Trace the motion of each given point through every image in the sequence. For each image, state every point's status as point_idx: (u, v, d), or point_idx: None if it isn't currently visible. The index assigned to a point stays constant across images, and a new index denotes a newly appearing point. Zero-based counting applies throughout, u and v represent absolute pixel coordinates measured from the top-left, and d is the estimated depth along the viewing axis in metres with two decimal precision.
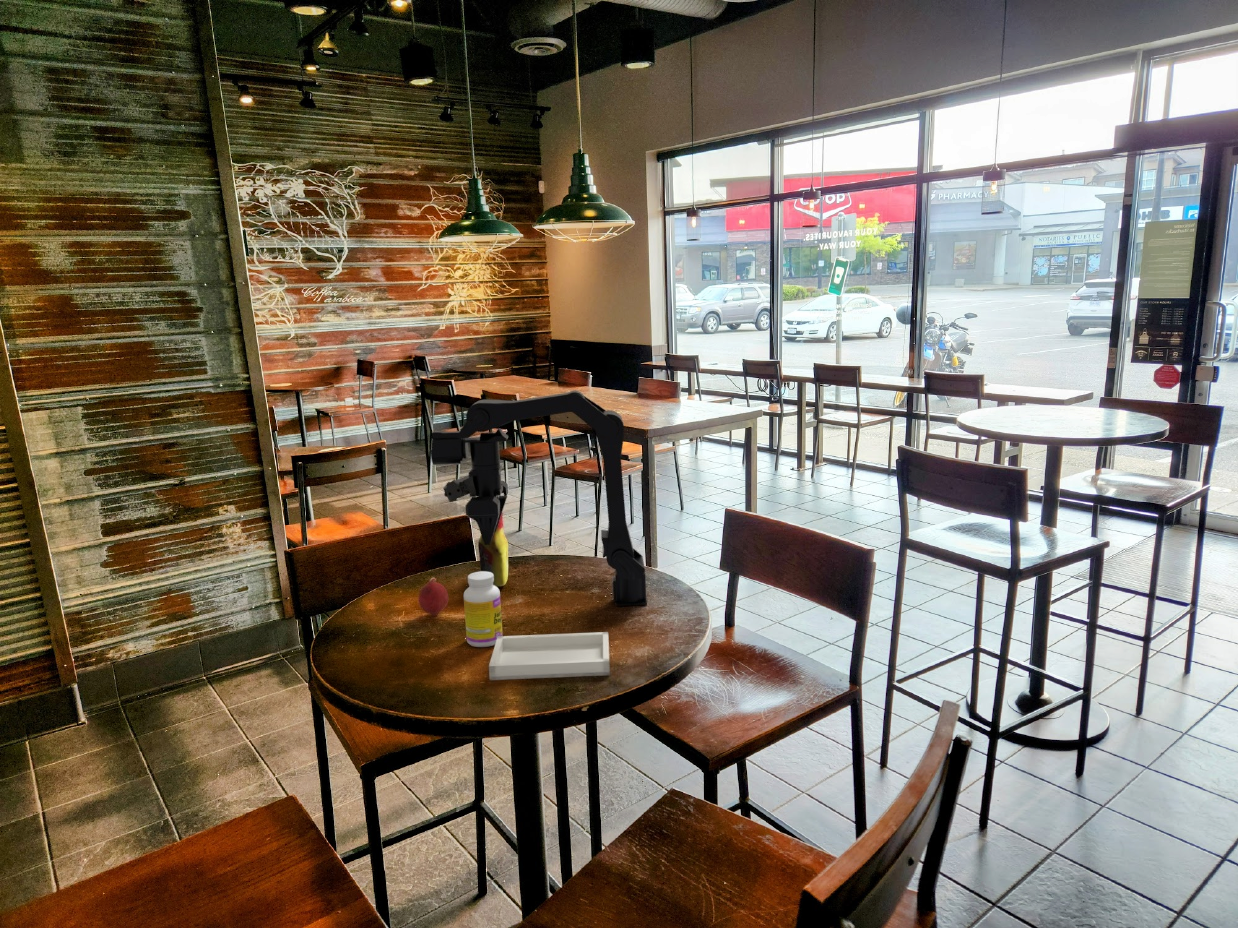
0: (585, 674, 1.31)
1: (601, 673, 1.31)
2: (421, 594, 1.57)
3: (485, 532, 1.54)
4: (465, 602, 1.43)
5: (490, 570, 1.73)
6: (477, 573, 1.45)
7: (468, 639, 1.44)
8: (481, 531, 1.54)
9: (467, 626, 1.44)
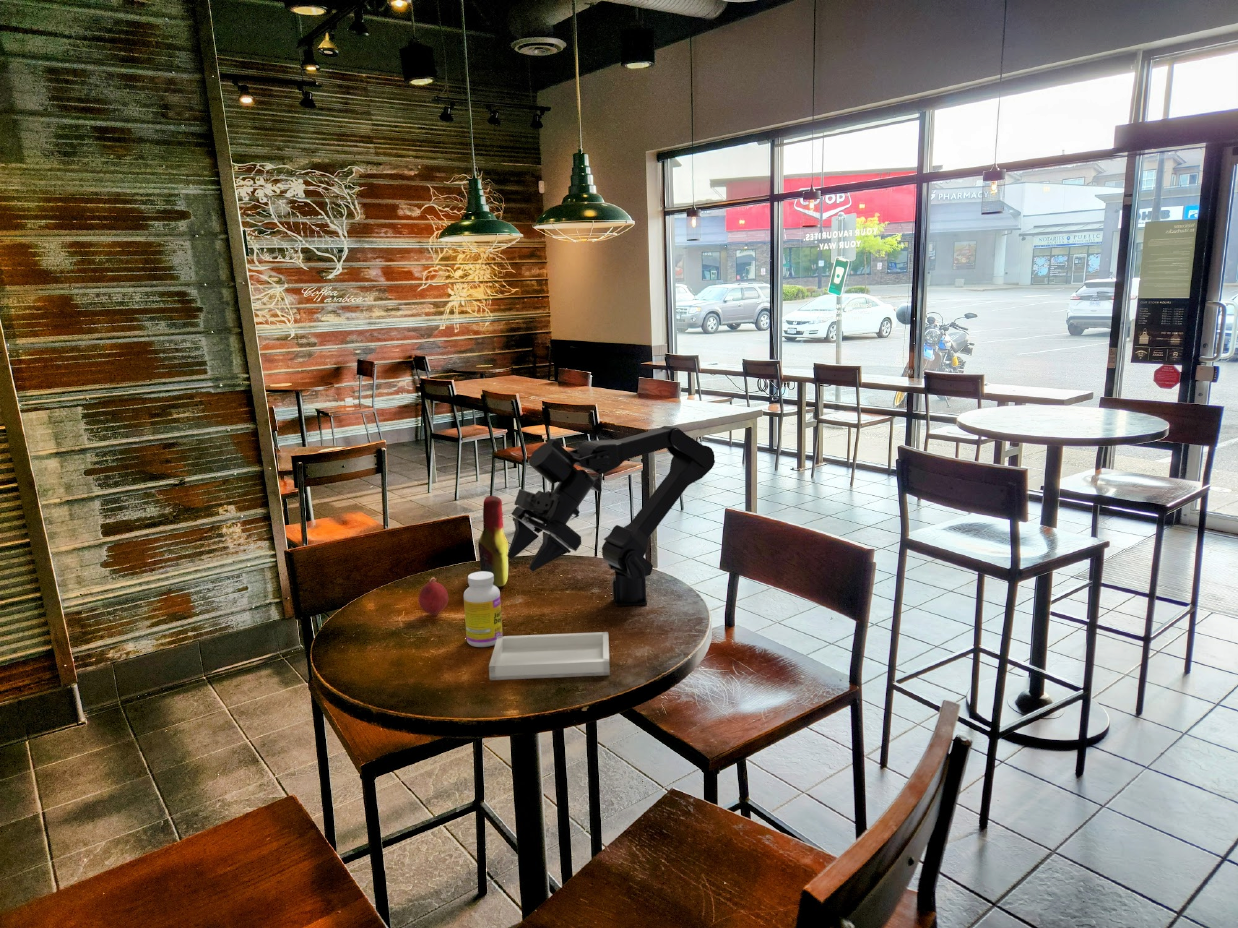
0: (585, 674, 1.31)
1: (601, 673, 1.31)
2: (421, 594, 1.57)
3: (542, 558, 1.44)
4: (465, 602, 1.43)
5: (490, 570, 1.73)
6: (477, 573, 1.45)
7: (468, 639, 1.44)
8: (540, 555, 1.44)
9: (467, 626, 1.44)
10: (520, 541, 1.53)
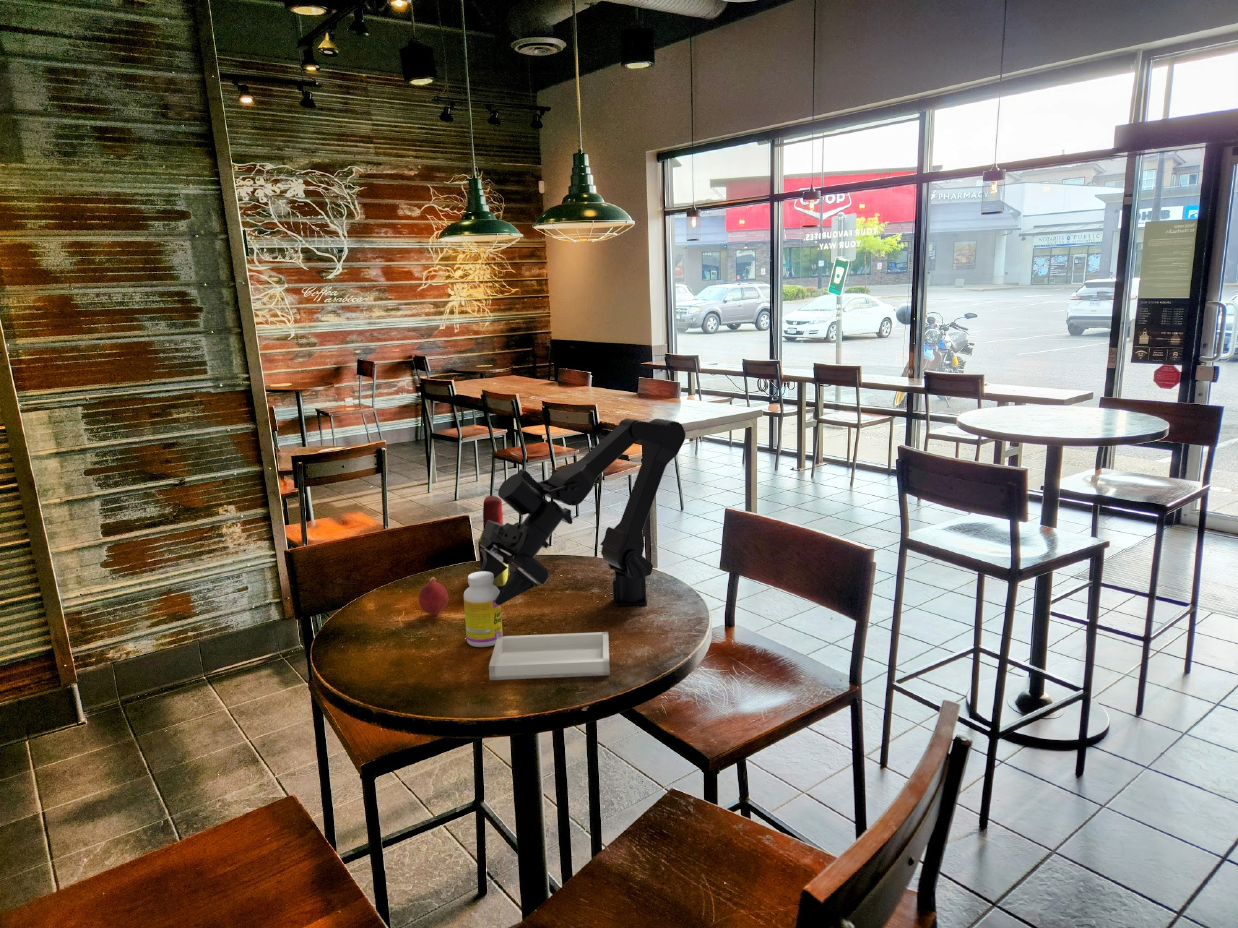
0: (585, 674, 1.31)
1: (601, 673, 1.31)
2: (421, 594, 1.57)
3: (508, 592, 1.41)
4: (465, 602, 1.43)
5: None
6: (477, 573, 1.45)
7: (468, 639, 1.44)
8: (506, 589, 1.41)
9: (467, 626, 1.44)
10: None
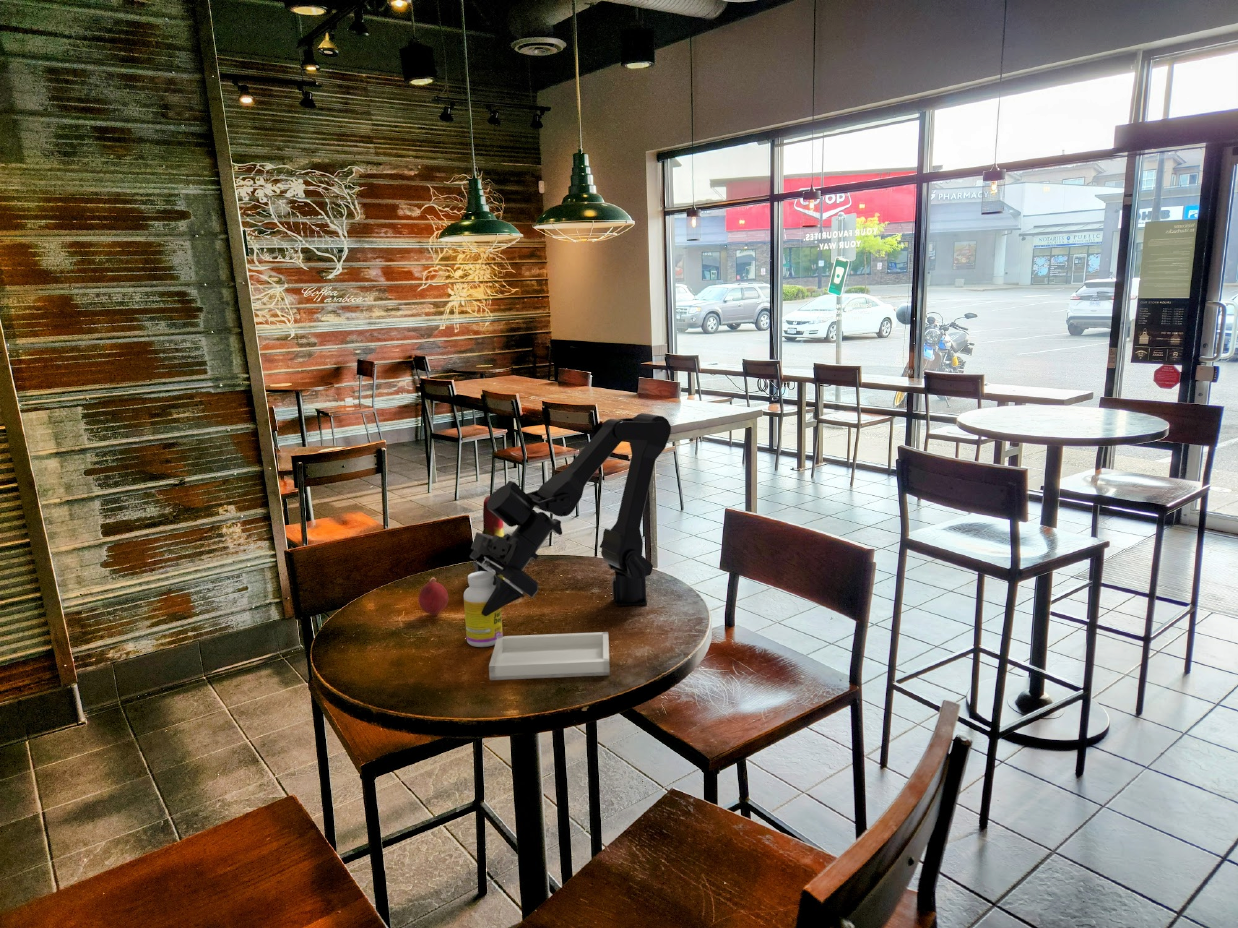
0: (585, 674, 1.31)
1: (601, 673, 1.31)
2: (421, 594, 1.57)
3: (495, 603, 1.41)
4: (465, 602, 1.43)
5: None
6: (477, 573, 1.45)
7: (468, 639, 1.44)
8: (493, 600, 1.41)
9: (467, 626, 1.44)
10: None
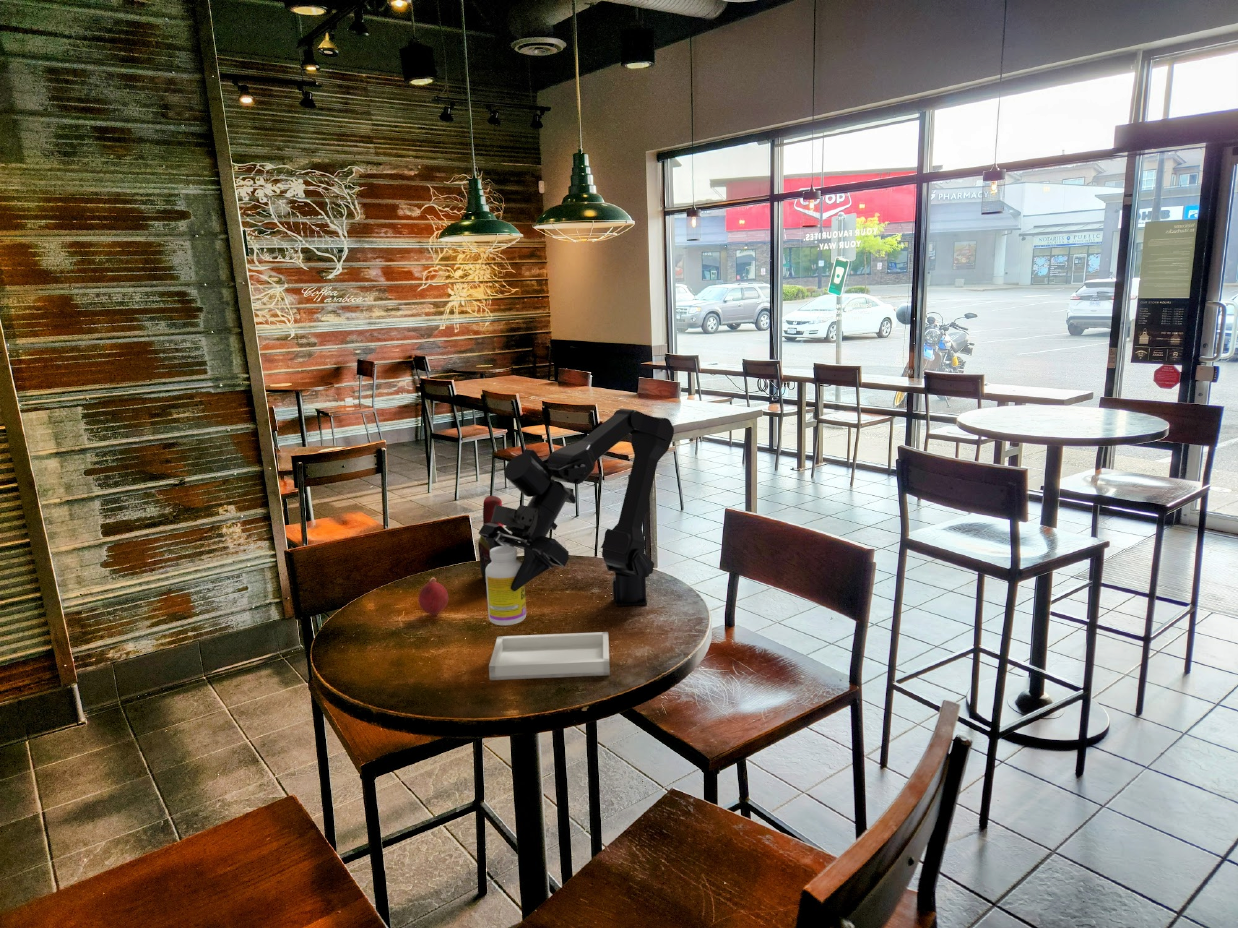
0: (585, 674, 1.31)
1: (601, 673, 1.31)
2: (421, 594, 1.57)
3: (524, 576, 1.35)
4: (490, 579, 1.35)
5: None
6: (498, 548, 1.37)
7: (493, 618, 1.36)
8: (522, 573, 1.34)
9: (492, 604, 1.36)
10: None
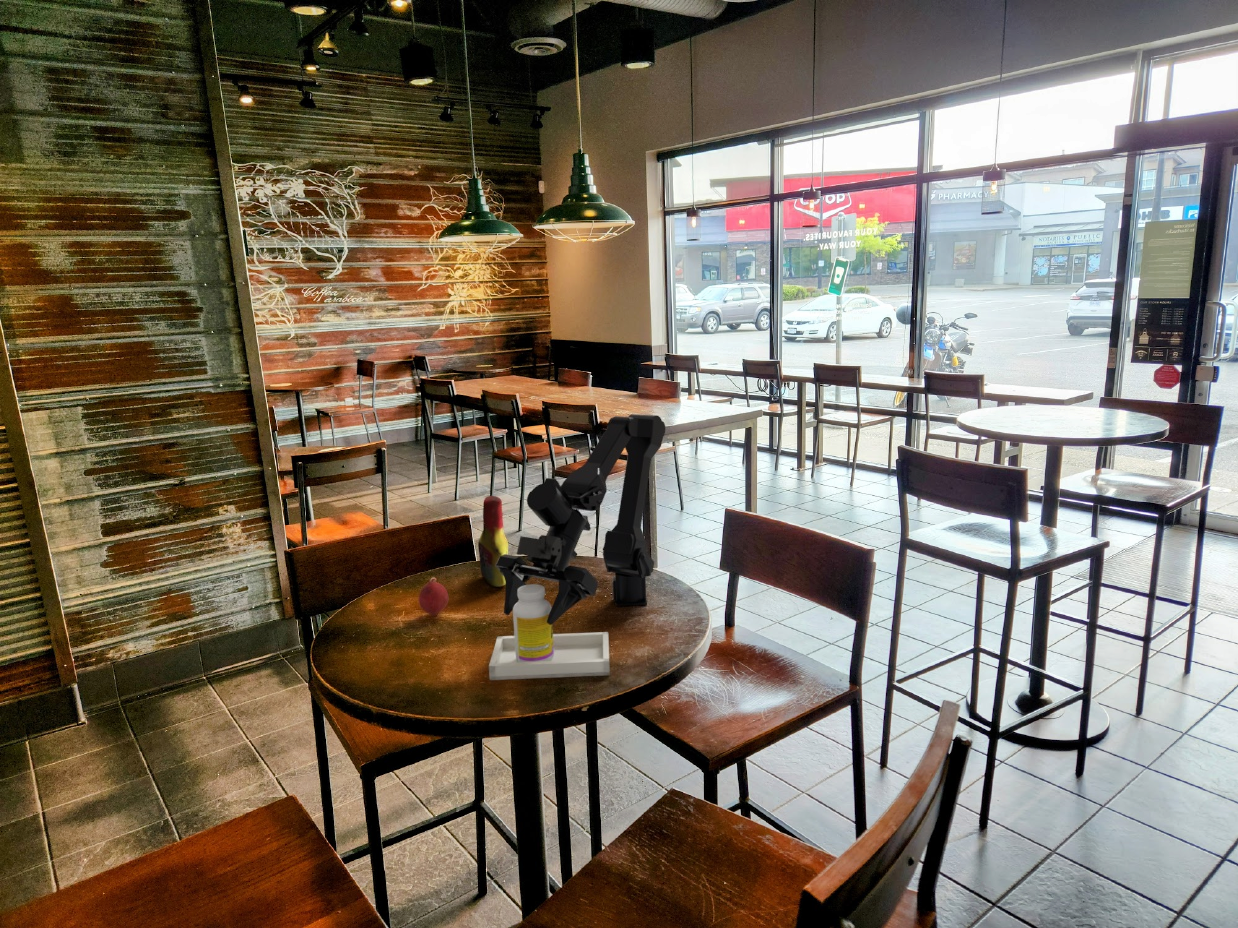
0: (585, 674, 1.31)
1: (601, 673, 1.31)
2: (421, 594, 1.57)
3: (560, 609, 1.32)
4: (520, 620, 1.32)
5: (490, 570, 1.73)
6: (525, 588, 1.35)
7: (524, 659, 1.34)
8: (558, 606, 1.32)
9: (523, 645, 1.33)
10: (514, 594, 1.38)
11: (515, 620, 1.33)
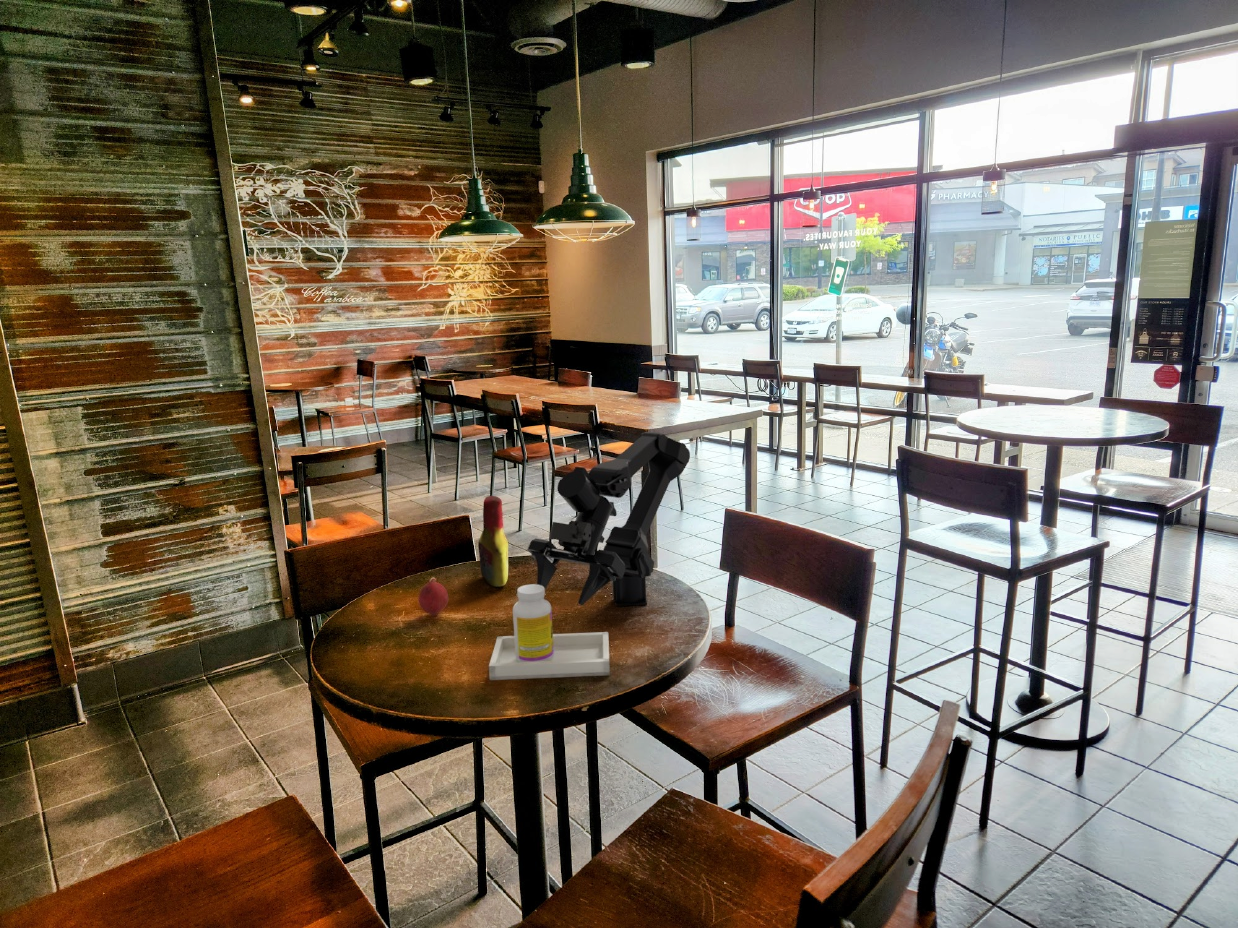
0: (585, 674, 1.31)
1: (601, 673, 1.31)
2: (421, 594, 1.57)
3: (590, 590, 1.40)
4: (520, 620, 1.32)
5: (490, 570, 1.73)
6: (525, 587, 1.35)
7: (524, 659, 1.34)
8: (589, 587, 1.40)
9: (523, 645, 1.33)
10: (545, 576, 1.46)
11: (515, 620, 1.33)
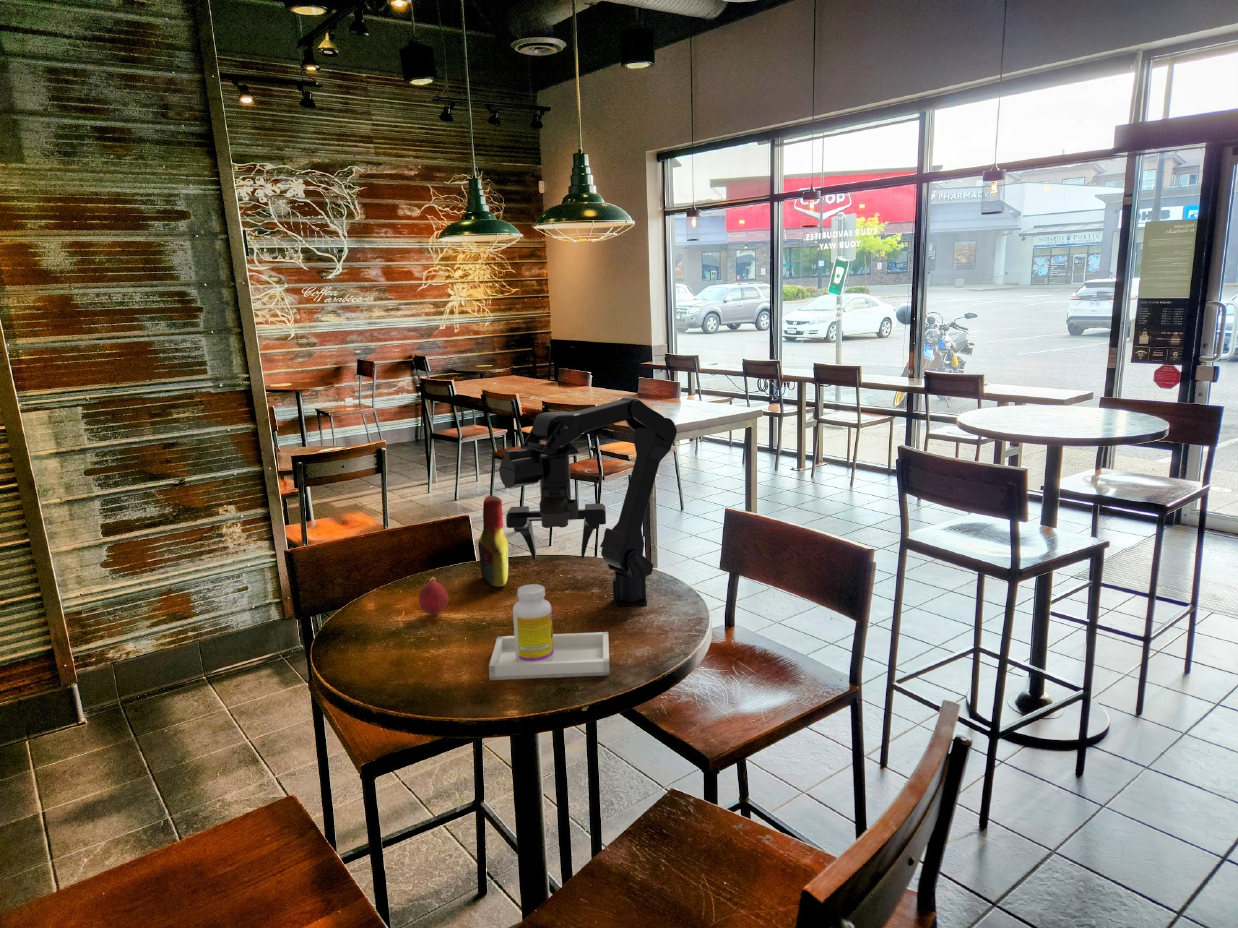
0: (585, 674, 1.31)
1: (601, 673, 1.31)
2: (421, 594, 1.57)
3: None
4: (520, 620, 1.32)
5: (490, 570, 1.73)
6: (525, 587, 1.35)
7: (524, 659, 1.34)
8: (587, 543, 1.50)
9: (523, 645, 1.33)
10: (533, 540, 1.51)
11: (515, 620, 1.33)
